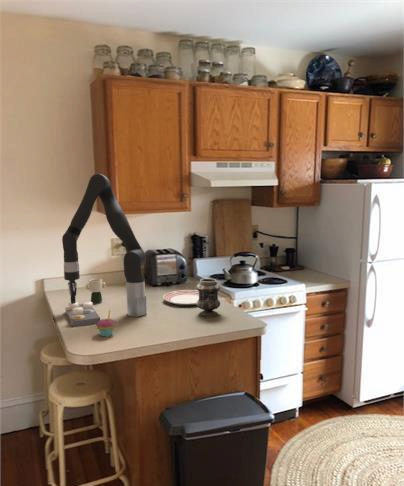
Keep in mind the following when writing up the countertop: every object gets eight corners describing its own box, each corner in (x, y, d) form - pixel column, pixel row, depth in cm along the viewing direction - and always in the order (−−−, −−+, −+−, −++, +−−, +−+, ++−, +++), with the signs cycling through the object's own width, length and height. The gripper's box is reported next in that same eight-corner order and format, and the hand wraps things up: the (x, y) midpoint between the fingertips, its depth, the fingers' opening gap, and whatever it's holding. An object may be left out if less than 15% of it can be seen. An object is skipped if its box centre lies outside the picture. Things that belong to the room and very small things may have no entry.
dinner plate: (219, 304, 234) (219, 298, 233) (171, 310, 224) (171, 304, 223) (201, 293, 259) (200, 288, 259) (157, 298, 249) (157, 292, 249)
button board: (100, 322, 204) (100, 317, 203) (72, 326, 198) (72, 320, 198) (90, 309, 227) (90, 303, 227) (65, 312, 222) (65, 307, 222)
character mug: (105, 299, 246) (104, 277, 244) (107, 302, 239) (106, 280, 237) (86, 301, 242) (84, 279, 240) (87, 305, 235) (86, 282, 233)
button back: (79, 308, 217) (78, 303, 217) (69, 309, 215) (69, 304, 215) (77, 306, 222) (77, 301, 221) (68, 307, 220) (67, 302, 219)
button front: (84, 314, 203) (83, 309, 202) (73, 315, 201) (73, 310, 200) (82, 311, 207) (82, 306, 207) (72, 312, 205) (71, 307, 205)
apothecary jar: (222, 311, 219) (222, 277, 217) (217, 318, 208) (216, 283, 206) (200, 310, 223) (199, 276, 220) (193, 317, 211) (193, 281, 209)
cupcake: (117, 331, 192) (116, 305, 190) (114, 337, 183) (113, 311, 182) (98, 331, 191) (97, 305, 190) (94, 338, 183) (93, 311, 181)
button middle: (93, 308, 212) (93, 303, 212) (83, 309, 210) (83, 304, 210) (91, 306, 217) (91, 301, 216) (82, 307, 215) (81, 302, 214)
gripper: (81, 271, 212) (82, 305, 214) (77, 267, 223) (78, 299, 226) (65, 273, 208) (67, 307, 211) (62, 268, 220) (64, 300, 223)
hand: (73, 303), depth 218 cm, fingers closed
